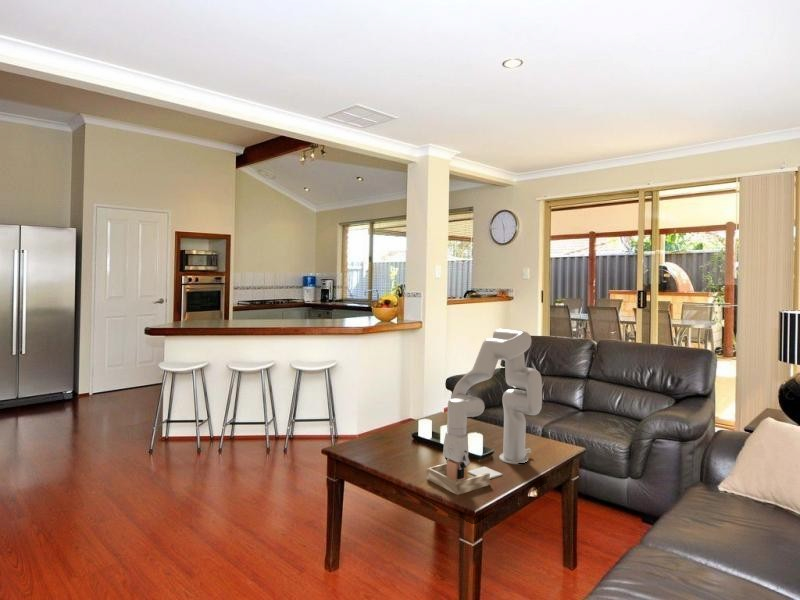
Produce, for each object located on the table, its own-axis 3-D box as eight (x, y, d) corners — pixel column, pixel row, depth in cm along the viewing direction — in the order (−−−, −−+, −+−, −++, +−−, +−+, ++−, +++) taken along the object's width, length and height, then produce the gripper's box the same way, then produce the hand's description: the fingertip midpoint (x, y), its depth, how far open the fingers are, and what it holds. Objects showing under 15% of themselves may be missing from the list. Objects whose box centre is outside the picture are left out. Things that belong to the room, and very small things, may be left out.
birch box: (458, 470, 218) (458, 459, 218) (489, 484, 204) (489, 473, 203) (426, 479, 208) (427, 468, 208) (457, 495, 194) (457, 483, 193)
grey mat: (484, 467, 222) (484, 466, 222) (502, 475, 214) (502, 473, 214) (467, 472, 216) (467, 471, 216) (484, 480, 208) (484, 479, 208)
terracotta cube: (455, 474, 208) (456, 457, 208) (464, 478, 204) (465, 461, 204) (446, 477, 205) (447, 460, 205) (455, 481, 201) (455, 463, 201)
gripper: (435, 426, 209) (434, 471, 210) (464, 438, 195) (463, 485, 196) (449, 423, 213) (448, 467, 214) (479, 434, 199) (477, 481, 200)
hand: (455, 475), depth 205 cm, fingers closed on terracotta cube, 5 cm apart
